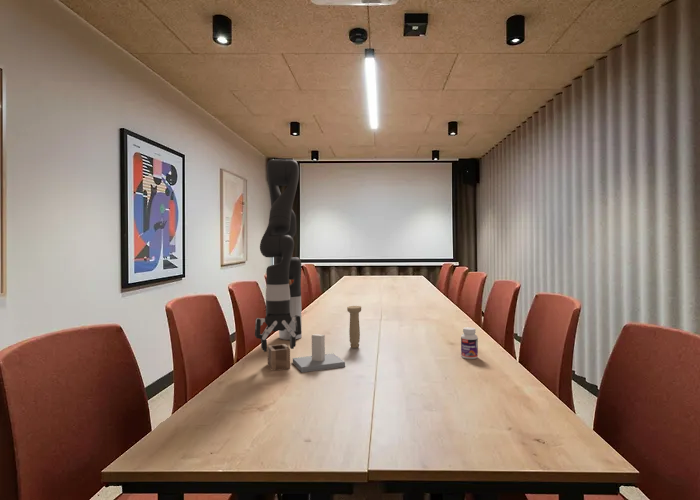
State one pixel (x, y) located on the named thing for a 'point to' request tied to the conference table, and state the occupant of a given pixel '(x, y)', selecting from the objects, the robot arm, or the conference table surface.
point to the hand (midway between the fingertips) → (278, 349)
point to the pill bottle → (469, 343)
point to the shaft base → (317, 364)
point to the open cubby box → (278, 357)
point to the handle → (354, 325)
